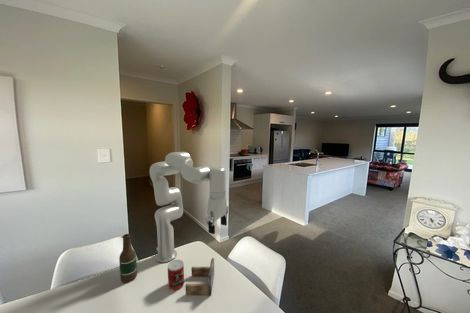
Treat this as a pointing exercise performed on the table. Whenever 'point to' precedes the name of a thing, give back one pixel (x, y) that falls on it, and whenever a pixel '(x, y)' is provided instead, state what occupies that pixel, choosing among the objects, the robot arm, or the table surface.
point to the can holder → (201, 288)
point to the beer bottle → (127, 261)
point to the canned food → (175, 274)
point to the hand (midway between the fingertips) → (217, 228)
